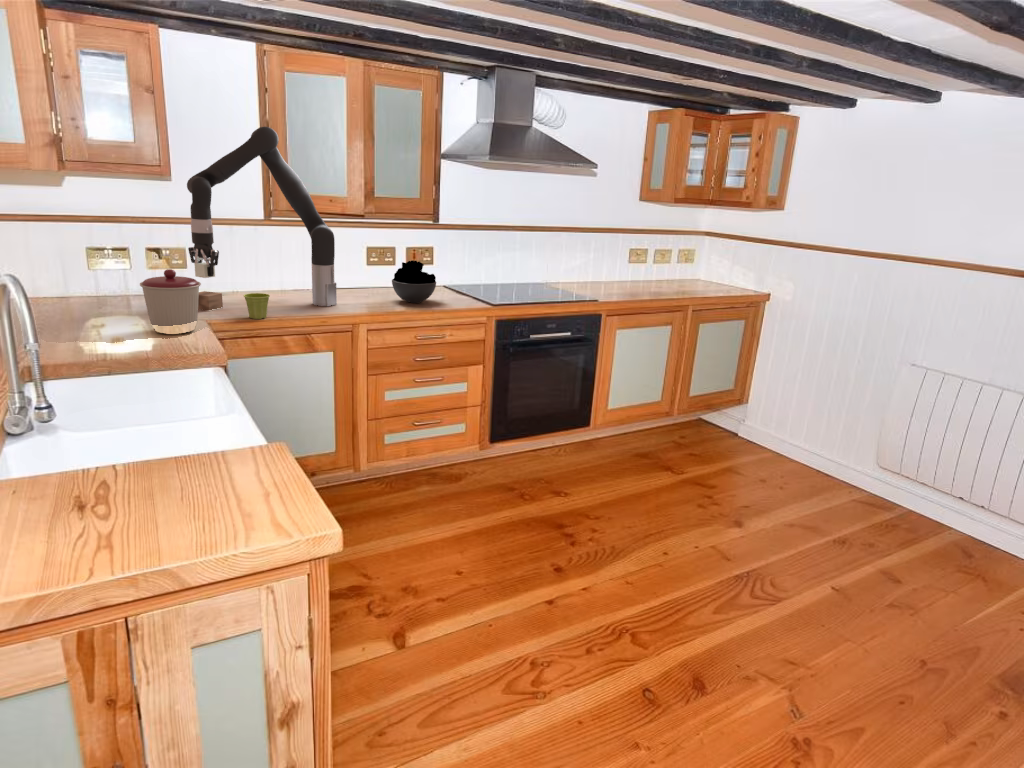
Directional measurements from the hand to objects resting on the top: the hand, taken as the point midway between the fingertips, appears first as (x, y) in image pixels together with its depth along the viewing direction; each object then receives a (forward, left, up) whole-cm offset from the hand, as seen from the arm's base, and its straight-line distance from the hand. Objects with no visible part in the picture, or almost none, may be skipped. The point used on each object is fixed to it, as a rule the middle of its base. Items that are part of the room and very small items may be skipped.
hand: (205, 275), depth 254 cm
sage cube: (0, 0, 0) cm, 0 cm away
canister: (-22, +34, -13) cm, 42 cm away
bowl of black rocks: (-53, -68, -13) cm, 87 cm away
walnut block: (0, 0, -13) cm, 13 cm away
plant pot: (-26, 0, -13) cm, 29 cm away
